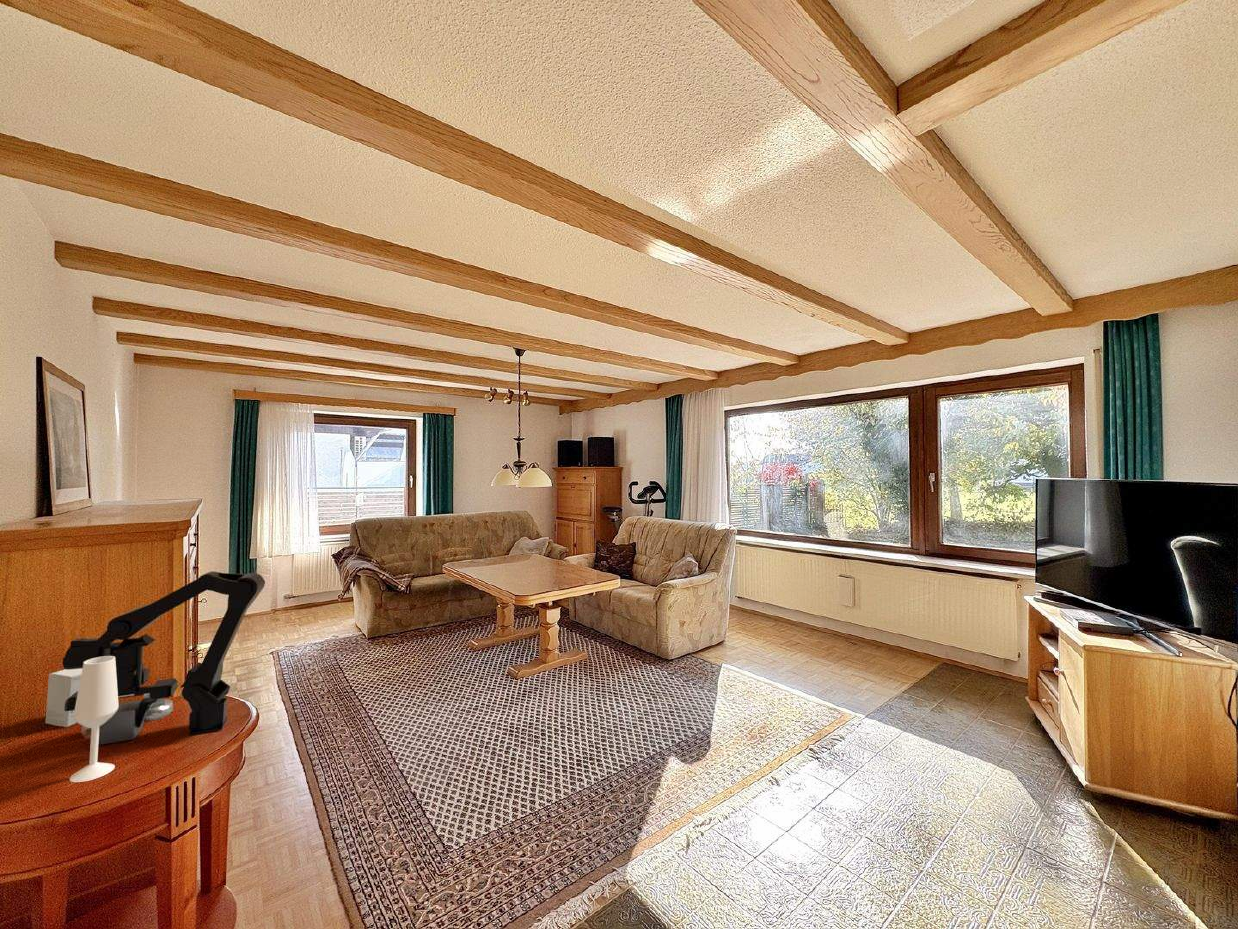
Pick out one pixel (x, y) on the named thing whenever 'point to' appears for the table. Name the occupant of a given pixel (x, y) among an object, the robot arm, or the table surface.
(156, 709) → the ratchet
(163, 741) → the table surface
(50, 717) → the supplement box
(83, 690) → the champagne flute
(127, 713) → the dark grey box
